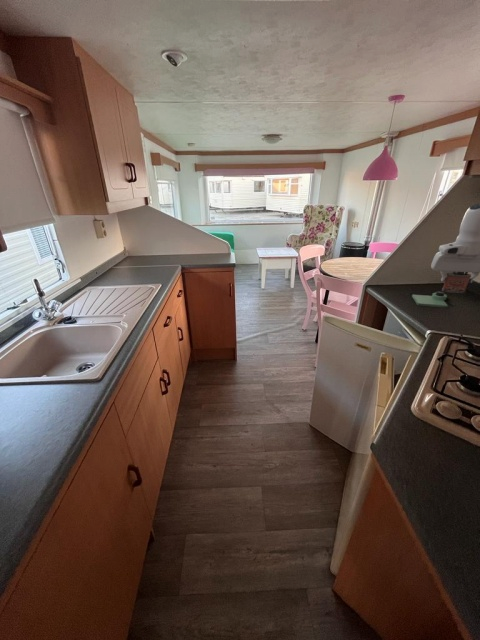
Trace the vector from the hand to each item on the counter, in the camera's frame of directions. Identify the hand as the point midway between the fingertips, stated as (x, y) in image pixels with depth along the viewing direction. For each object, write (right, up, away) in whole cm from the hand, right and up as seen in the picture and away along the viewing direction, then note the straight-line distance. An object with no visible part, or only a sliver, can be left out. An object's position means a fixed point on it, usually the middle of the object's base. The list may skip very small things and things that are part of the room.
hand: (455, 281), depth 111 cm
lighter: (0, -4, +2) cm, 4 cm away
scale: (+7, -7, +25) cm, 27 cm away
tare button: (+13, -3, +26) cm, 29 cm away
